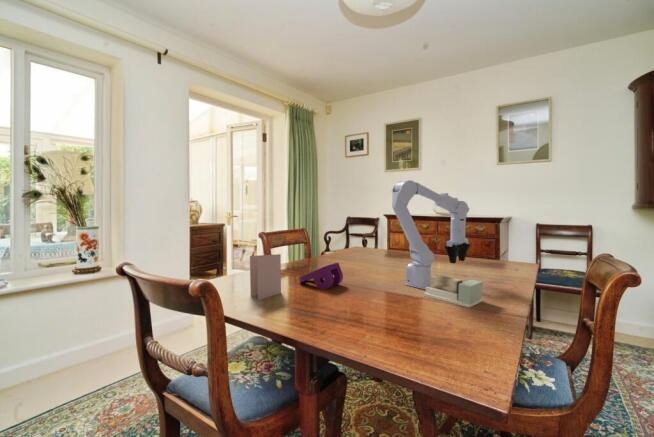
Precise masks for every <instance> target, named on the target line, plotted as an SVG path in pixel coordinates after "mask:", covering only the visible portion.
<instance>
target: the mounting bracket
mask: <svg viewBox="0 0 654 437" xmlns="http://www.w3.org/2000/svg"><path fill="white" fill-rule="evenodd" d="M343 278H344V274H343V271H342V269H341V265H340V263H339V262H334V263H331V264H328V265H325V266H323V267H320V268H317V269H316V270H313V271H311V272H310V273H309V272H308V273H306V274H304V275H301V276H300V277H298V280H299V283H300V284H301V282H302V283H304V282H307V281H310V280H312V279H313V280H314V284H315V286H316V287H317V288H320V289H321V290H328V289H330V288H331V287H333V286H337V285H340V284H341V283H342V282H343Z"/></svg>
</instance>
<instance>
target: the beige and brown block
mask: <svg viewBox="0 0 654 437" xmlns="http://www.w3.org/2000/svg"><path fill="white" fill-rule="evenodd" d="M463 282H464V281H463V280H462V279H460V278H455V277H450V276H445V275H439V274H435V275H431V287H430V288H434V289H439V290H443V291H447V292H452V293H456V294H458V292H459V284H460V283H463Z"/></svg>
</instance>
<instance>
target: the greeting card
mask: <svg viewBox="0 0 654 437" xmlns="http://www.w3.org/2000/svg"><path fill="white" fill-rule="evenodd" d="M281 255H282V254H281V253H278V254H277V253H276V254H261V255H250V256H249V280H250V282H249V283H250V296H251V297H252V296H253V295H254V296H257V301H261V300H263V299H267V298H269V297H273V296H275V295H279V294H281V293H282V274H281V273H282V268H281V266H282V265H281V263H282V262H281V260H282V258H281ZM254 296H253V297H254Z"/></svg>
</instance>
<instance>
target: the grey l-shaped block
mask: <svg viewBox="0 0 654 437" xmlns="http://www.w3.org/2000/svg"><path fill="white" fill-rule="evenodd" d="M423 297H427V298H431V299H434V300H438V301H442V302H445V303H449V304H454V305H458V306H463V307H466V308H471V307H473V306H475V305H477V304H479V303H482V302H483V281H481V280H477V279H476V280H475V279H469V280H465V281H463V283H460V284H459V292H458V294H456V293H452V292H447V291H443V290H439V289H434V288H431V287H426V289H425V292H424V293H423Z"/></svg>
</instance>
